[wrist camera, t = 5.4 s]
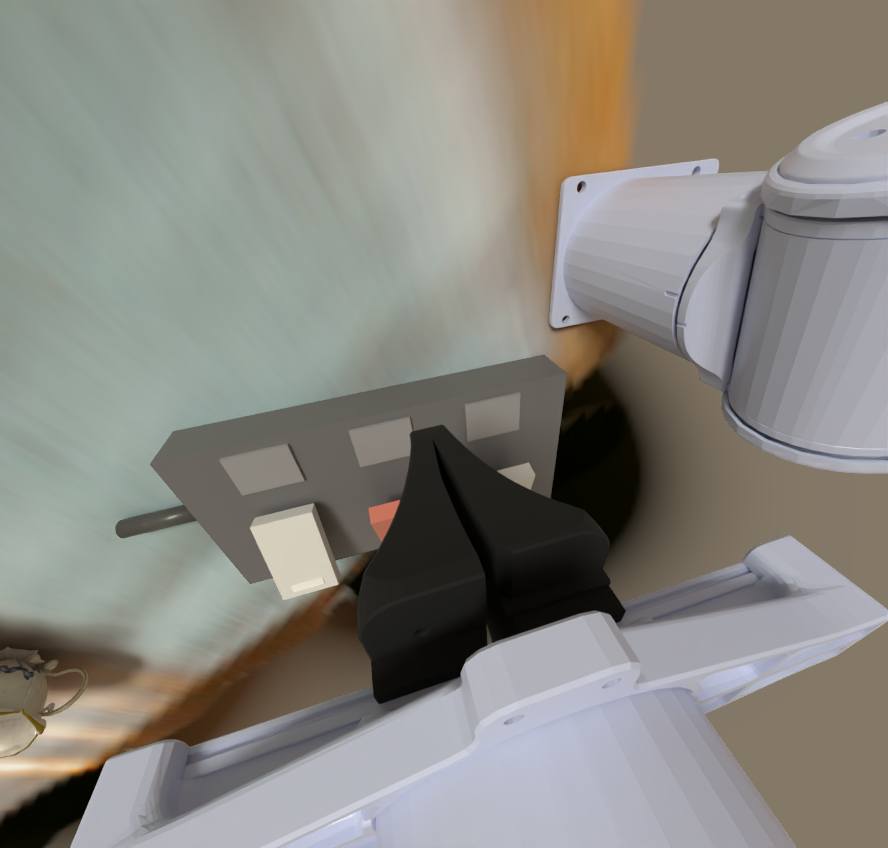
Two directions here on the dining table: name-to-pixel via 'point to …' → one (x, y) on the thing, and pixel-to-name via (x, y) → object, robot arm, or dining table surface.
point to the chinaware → (26, 698)
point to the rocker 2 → (520, 474)
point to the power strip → (351, 455)
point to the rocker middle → (382, 517)
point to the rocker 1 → (296, 550)
